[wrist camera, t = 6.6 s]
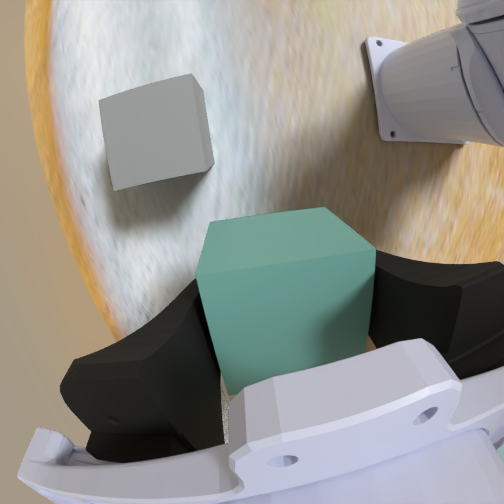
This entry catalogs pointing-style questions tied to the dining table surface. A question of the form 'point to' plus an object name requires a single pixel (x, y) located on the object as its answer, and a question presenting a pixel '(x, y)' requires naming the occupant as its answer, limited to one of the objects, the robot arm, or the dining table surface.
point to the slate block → (156, 132)
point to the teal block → (284, 293)
